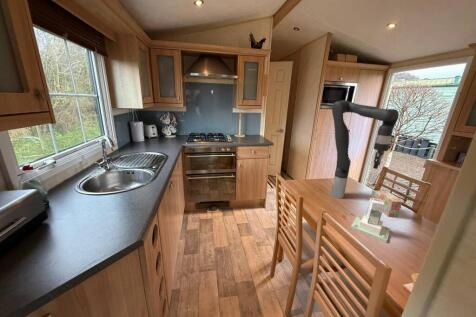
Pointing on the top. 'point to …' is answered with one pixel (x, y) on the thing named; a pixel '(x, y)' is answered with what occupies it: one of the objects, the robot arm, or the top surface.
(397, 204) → the cardboard box
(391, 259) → the top surface
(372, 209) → the white tall block
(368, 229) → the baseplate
